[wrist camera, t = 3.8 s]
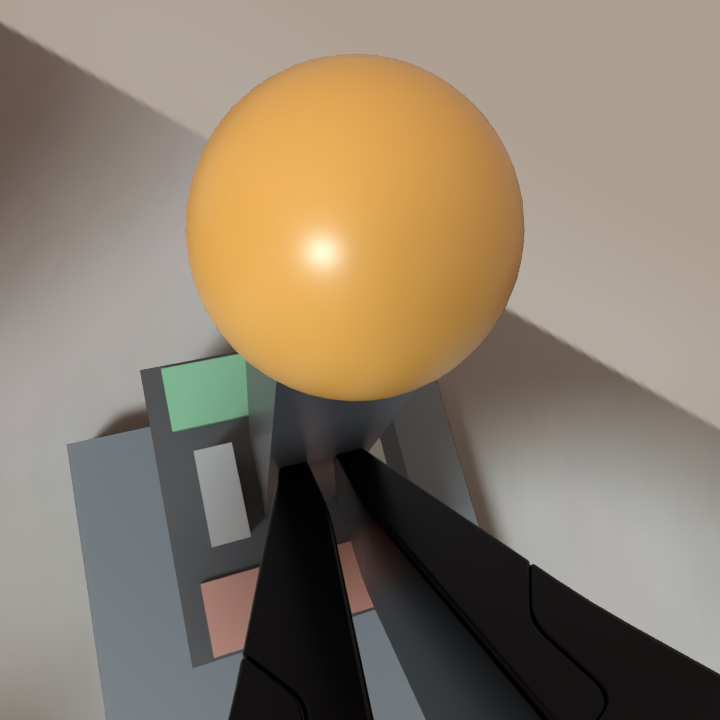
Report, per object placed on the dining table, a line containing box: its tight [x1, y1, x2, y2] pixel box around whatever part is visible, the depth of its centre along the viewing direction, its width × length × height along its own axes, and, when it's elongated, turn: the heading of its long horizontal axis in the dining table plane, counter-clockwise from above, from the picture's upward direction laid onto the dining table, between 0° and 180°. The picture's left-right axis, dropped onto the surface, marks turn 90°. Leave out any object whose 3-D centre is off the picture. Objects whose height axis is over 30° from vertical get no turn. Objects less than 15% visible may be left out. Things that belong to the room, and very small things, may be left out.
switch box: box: [67, 352, 479, 720], centre depth 14 cm, size 18×11×6 cm, turn 15°
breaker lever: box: [185, 54, 524, 516], centre depth 8 cm, size 3×3×11 cm
